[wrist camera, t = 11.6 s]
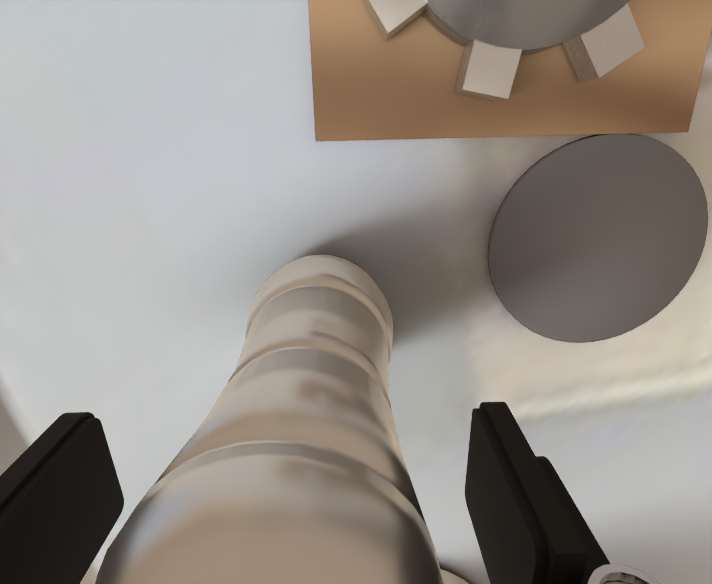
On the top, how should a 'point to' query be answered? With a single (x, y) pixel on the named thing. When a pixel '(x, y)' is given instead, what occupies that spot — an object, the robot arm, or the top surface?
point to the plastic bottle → (290, 455)
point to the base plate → (529, 89)
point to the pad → (597, 237)
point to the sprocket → (519, 35)
